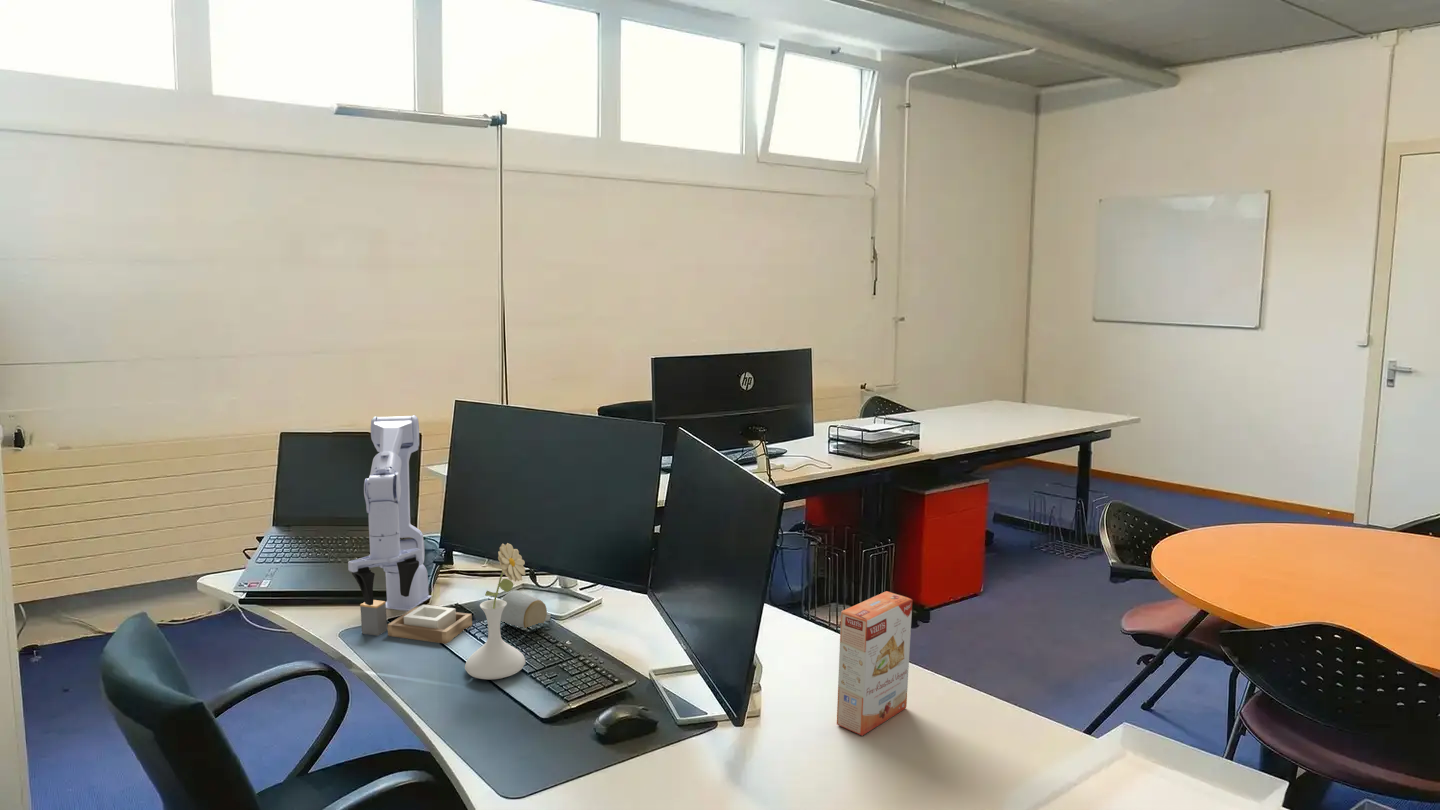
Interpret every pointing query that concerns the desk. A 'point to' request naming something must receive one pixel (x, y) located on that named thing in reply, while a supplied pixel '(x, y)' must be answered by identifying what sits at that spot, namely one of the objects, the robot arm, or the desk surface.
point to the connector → (373, 618)
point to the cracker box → (873, 661)
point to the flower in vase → (498, 626)
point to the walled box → (429, 629)
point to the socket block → (431, 617)
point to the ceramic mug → (523, 610)
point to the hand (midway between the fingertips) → (387, 599)
